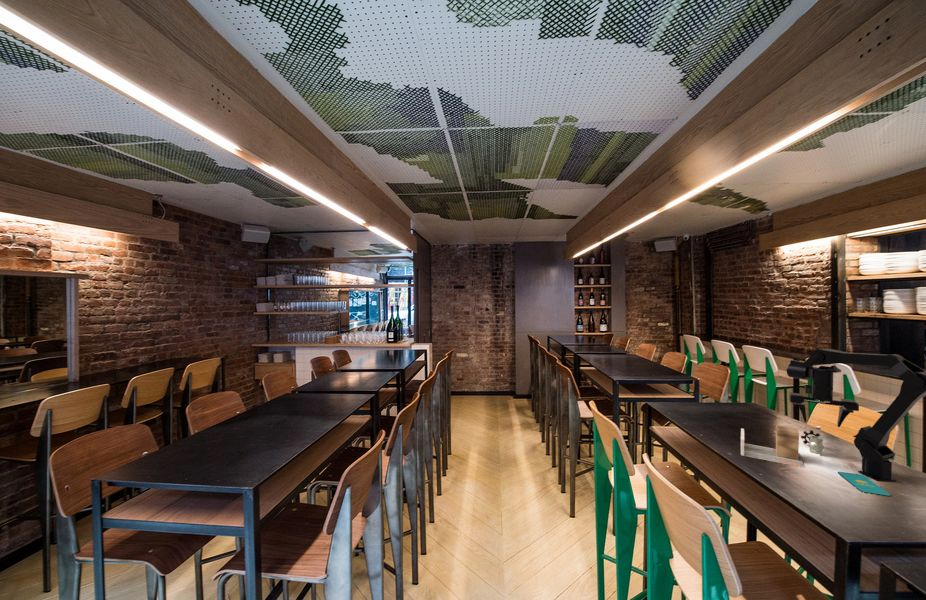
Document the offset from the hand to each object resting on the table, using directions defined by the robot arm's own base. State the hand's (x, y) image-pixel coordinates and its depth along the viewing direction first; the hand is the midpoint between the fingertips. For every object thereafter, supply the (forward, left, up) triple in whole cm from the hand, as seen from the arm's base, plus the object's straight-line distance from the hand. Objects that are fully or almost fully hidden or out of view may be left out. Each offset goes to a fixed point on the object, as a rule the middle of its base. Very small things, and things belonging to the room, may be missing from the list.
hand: (821, 424), depth 146 cm
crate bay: (+3, +17, -13) cm, 21 cm away
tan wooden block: (0, +13, -12) cm, 18 cm away
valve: (+8, -5, -13) cm, 16 cm away
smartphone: (-19, +4, -14) cm, 24 cm away
